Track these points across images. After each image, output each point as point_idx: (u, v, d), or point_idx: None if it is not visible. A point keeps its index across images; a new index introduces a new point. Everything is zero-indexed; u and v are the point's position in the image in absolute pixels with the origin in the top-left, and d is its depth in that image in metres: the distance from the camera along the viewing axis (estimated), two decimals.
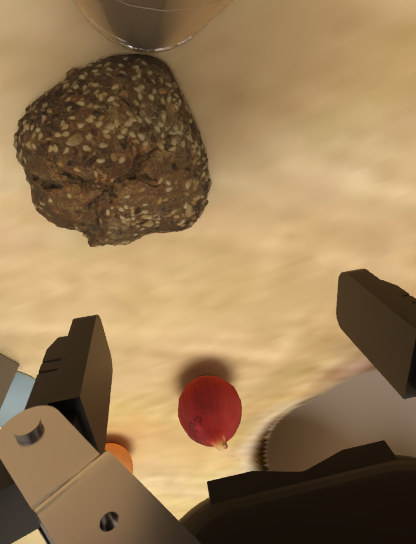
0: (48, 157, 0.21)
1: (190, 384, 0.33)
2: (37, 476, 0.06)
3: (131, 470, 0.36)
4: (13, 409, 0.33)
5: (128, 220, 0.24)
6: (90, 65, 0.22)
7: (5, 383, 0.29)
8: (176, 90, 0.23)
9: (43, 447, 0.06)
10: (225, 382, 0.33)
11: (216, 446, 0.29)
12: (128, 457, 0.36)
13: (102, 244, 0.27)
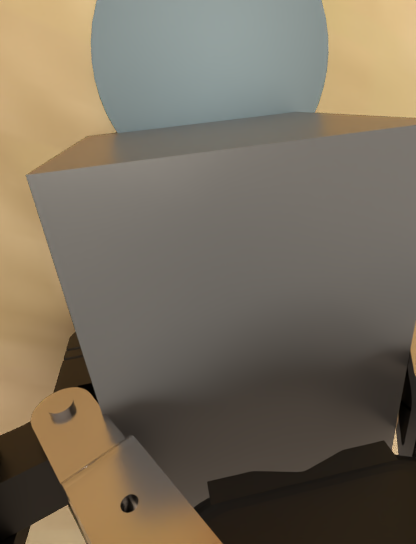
0: None
1: None
2: (75, 450, 0.06)
3: None
4: (230, 17, 0.10)
5: None
6: None
7: None
8: None
9: (74, 426, 0.07)
10: None
11: None
12: None
13: None
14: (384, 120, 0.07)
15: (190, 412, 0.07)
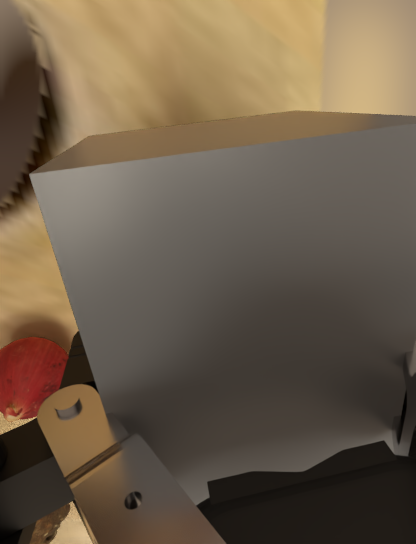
0: None
1: None
2: (82, 445, 0.06)
3: None
4: None
5: None
6: None
7: None
8: None
9: (80, 423, 0.07)
10: None
11: (16, 419, 0.24)
12: None
13: None
14: (387, 118, 0.07)
15: (193, 411, 0.07)
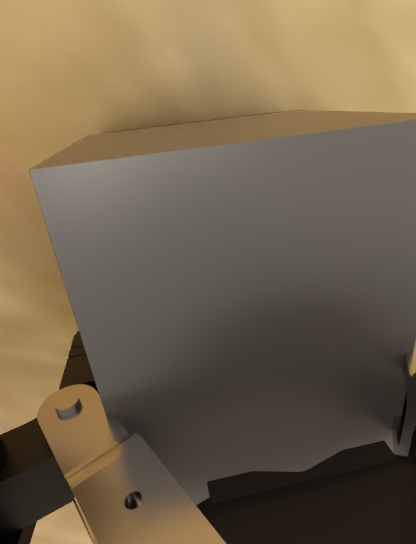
0: None
1: None
2: (82, 445, 0.06)
3: None
4: None
5: None
6: None
7: None
8: None
9: (80, 423, 0.07)
10: None
11: None
12: None
13: None
14: (387, 116, 0.07)
15: (193, 410, 0.07)
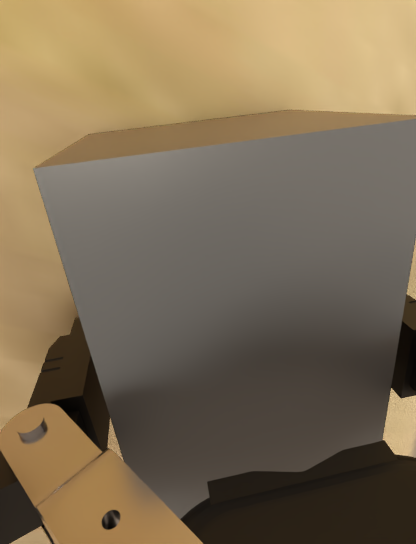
0: None
1: None
2: (41, 473, 0.06)
3: None
4: None
5: None
6: None
7: None
8: None
9: (46, 444, 0.07)
10: None
11: None
12: None
13: None
14: (372, 117, 0.07)
15: (188, 396, 0.08)
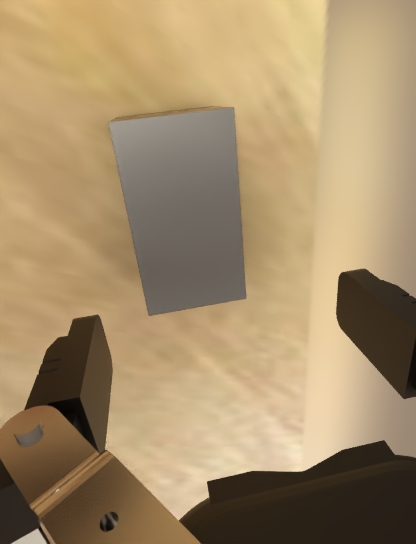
0: None
1: None
2: (37, 476, 0.06)
3: None
4: None
5: None
6: None
7: None
8: None
9: (43, 447, 0.06)
10: None
11: None
12: None
13: None
14: (221, 108, 0.20)
15: (157, 213, 0.21)
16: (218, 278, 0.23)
